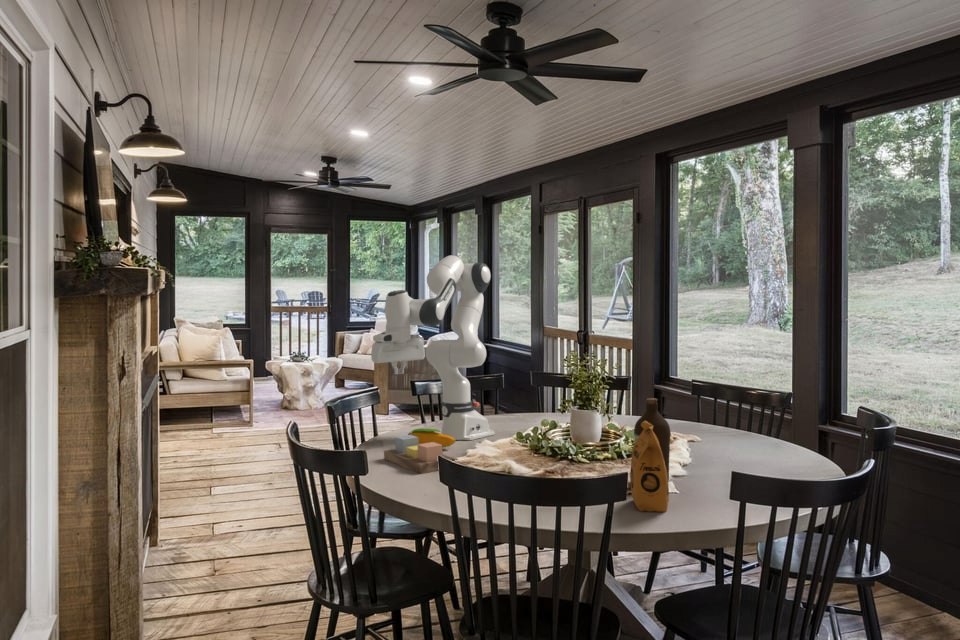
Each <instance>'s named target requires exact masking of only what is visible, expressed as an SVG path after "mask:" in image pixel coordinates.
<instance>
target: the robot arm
mask: <svg viewBox="0 0 960 640" xmlns="http://www.w3.org/2000/svg"><path fill="white" fill-rule="evenodd" d="M491 279H492V274H491V270H490V268H489V266H488V265H487V264H486V263H483V262H475V263H473V262H471V263H464V262H463V261H462V259H461V258H460V257H458V256H456V255H453V254H452V255H447V256H445V257H443V258H441V259H440V261H438V262H437V263H436V264H435V265H434V266H432V268H431V269H430V270H429V272H428V274H427V276H426V284H427V287H428V288H429V290H430V291H431V292H432V293H433V294H435V295H436V296H435V297H432V298H425V299H424V298H423V299H422V298H421V299H420V298H419V299H418V298H417V299H414V298H412V297H411V296H409V293H408V291H407V290H403V289H401V290H392V291H390V292H388V293H387V294H386V297H385V303H384V304H385V307H384V310H385V312H384V314H385V319H386V324H385V330H384V331H382V332H380V333H378V334H375V335H374V336H372V339H373V344H372V345H371V353H370V354H371V356H370V357H371V362H373V363H374V364H384V363H386V364H387V363H390V364H391V366H392V368H393V370H394V375H404V374H405V368H406V366H407V362H410V361H411V362H412V361H421V360H424V359H425V358H426V360H427V363H429V364H430V365H431V366H432V367H433V368H434V369H435V370H436V372H437V373H438V375H439V378H440V381H441V386H442V403H441V404H442V405H441V407H442V408H441V412H442V425H441V430H440V431H441V432H440V433H441V434H445V435H449V436H451V437H452V438H454V439H455V441H457V440H458V441H472V440H477V439H480V438H481V439H482V438H486V437H490V436H494V435H496V431H494V430H493V429H491V428H490V426H489V421H488V419H487V417H485V416H483V415H482V414H480V413H479V412H478V411H477V410H475V408H479V406H480V402H478V401H472V400H471V398H472V397H471V383H470V381H469V379H468V378H467V377H465V376H463V375H462V374H461V372H460V371H459V368H468V369H469V368H475V367H480V366H482V365H483V364H484V363H485V362H486V358H487V349H486V346H485V345H484V344H483V342H481V340H480V339H479V335H478V331H479V330H478V329H479V325H480V322H481V318H482V314H483V309H484V302H485V301H484V299H485V298H484V295H483V293H484V292H485V291H487V288H488V286H489V285H490V282H491ZM456 292H460V296H459V299H458V301H457V303H456V306H455V309H454V313H453V315H452V319H451V322H450V327H451V330H452V331H453V332H454V333H455V335H457V336H458V337H457V338H456V339H438V340H434V341H431V342H429V344H428V345H427V347H426V349H425V346H424V344H425V343H424V342H425V340H424V339H425V338H424V337H423V336H422V335H421V334H419V333H418V334H411V326H427V327H438V326H439V325H440V324H441V323H442V321H443V320H444V318H445V314H446V311H447V309H448V307H449V306H450V304H451V302H452V300H453V299H454V297H455V295H456ZM399 362H400V363H399ZM398 363H399V364H400V368H398V366H397V365H398Z"/></svg>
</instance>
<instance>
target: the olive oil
mask: <svg viewBox="0 0 960 640" xmlns="http://www.w3.org/2000/svg"><path fill="white" fill-rule="evenodd" d="M658 405H659V404H658V398H655V397H648V398H646V403H645V408H646V409H645V412H644V413H643V414H642V415H641V416H640V417H639V418H638V420H636V422H635V424H634V429H633V432H634V433H633V436H634V443H635V442H636V441H637V439H638V437H639V436H640V434H641V433H642V431H643V429H644V428H643V427H642V426H641V423H642V422H644V421H647V422H648V423H650V424H652V425H653V430H652V431H653V432H654V434H655V435H656V437H657V439H658V441H659V445H660V448H661V451H662V455H663V458H664V462H665V466H666V469H667V475H668V483H669V481H670V451H671V449H670V447H671V428H670V427H671V426H670V425H669V423H668V421H667V420H666V418H665V417H663V416H662V414H661V413H660V412H659V411H658Z"/></svg>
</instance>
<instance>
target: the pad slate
mask: <svg viewBox="0 0 960 640" xmlns="http://www.w3.org/2000/svg"><path fill="white" fill-rule="evenodd" d="M394 441H395V442H394V444H395V446H394V447H395V448H394V449H395V451H397V452H400V453H403V454H404V453H406V447H410V446H417V445H418V444H419V442H418V437H416V436H413V435H408V434H405V435H400V436H399V435H398V436H395V437H394Z"/></svg>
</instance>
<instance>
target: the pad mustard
mask: <svg viewBox="0 0 960 640" xmlns="http://www.w3.org/2000/svg"><path fill="white" fill-rule="evenodd" d="M406 455H408V456H411V457H413V458H417V457H418V445H417V446H410V447H406Z"/></svg>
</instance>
